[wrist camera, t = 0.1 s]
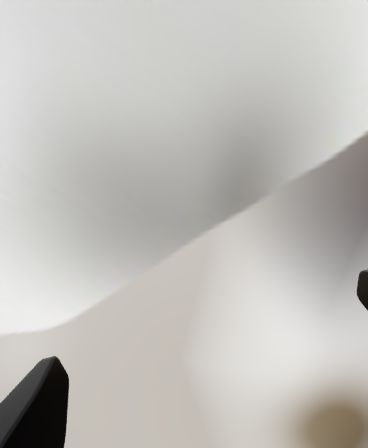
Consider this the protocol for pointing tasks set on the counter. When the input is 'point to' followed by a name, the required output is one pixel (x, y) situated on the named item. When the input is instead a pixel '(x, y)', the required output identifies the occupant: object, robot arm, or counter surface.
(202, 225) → the counter surface
